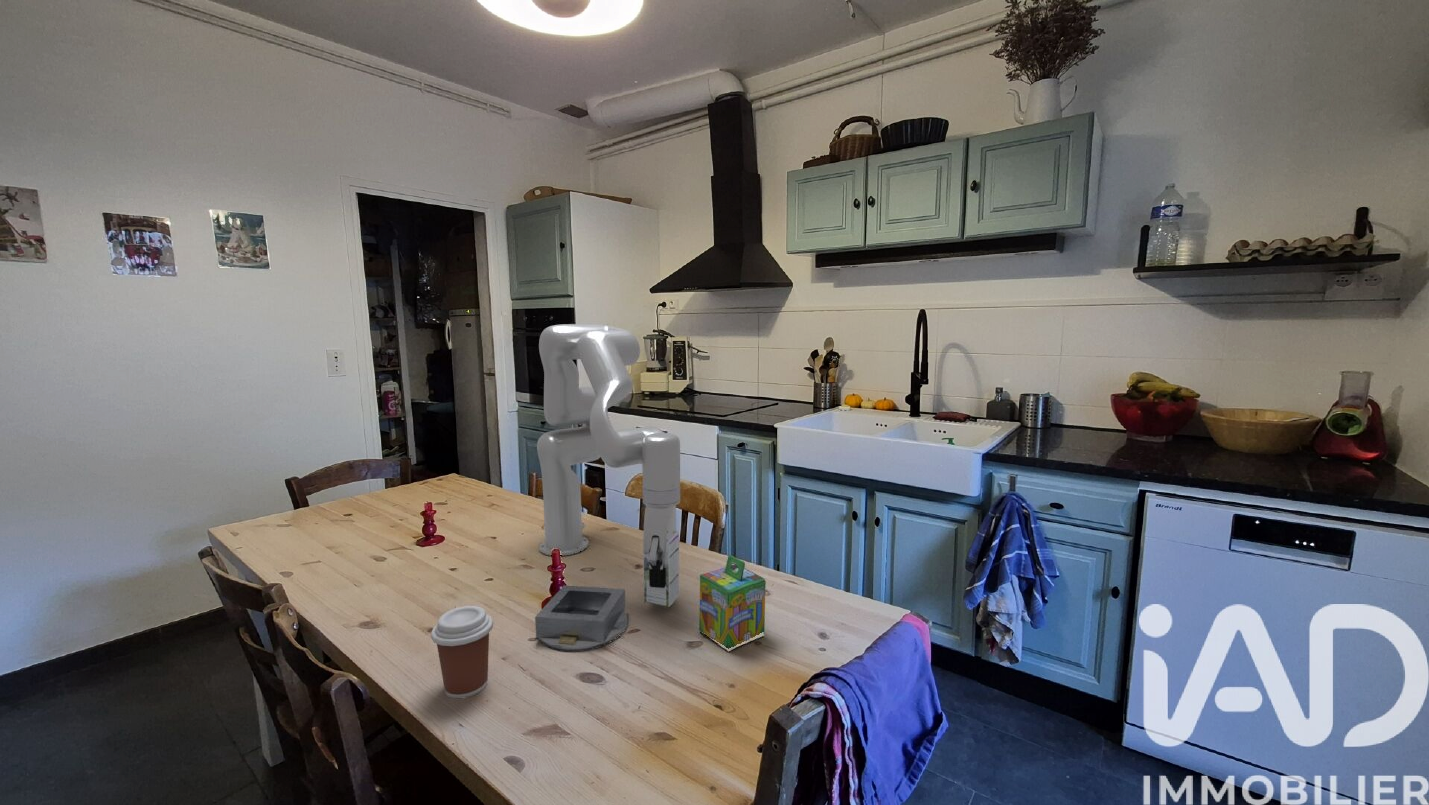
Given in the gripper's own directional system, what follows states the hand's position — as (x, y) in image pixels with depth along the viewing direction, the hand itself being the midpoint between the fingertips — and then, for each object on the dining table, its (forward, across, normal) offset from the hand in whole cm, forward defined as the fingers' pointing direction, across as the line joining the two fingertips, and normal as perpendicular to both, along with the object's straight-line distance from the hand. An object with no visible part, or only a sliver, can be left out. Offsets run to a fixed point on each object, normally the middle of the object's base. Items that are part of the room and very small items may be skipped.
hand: (661, 578), depth 115 cm
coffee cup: (+7, +30, -25) cm, 39 cm away
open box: (+7, +10, -13) cm, 18 cm away
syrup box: (+5, 0, 0) cm, 5 cm away
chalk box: (+6, +8, +16) cm, 19 cm away
